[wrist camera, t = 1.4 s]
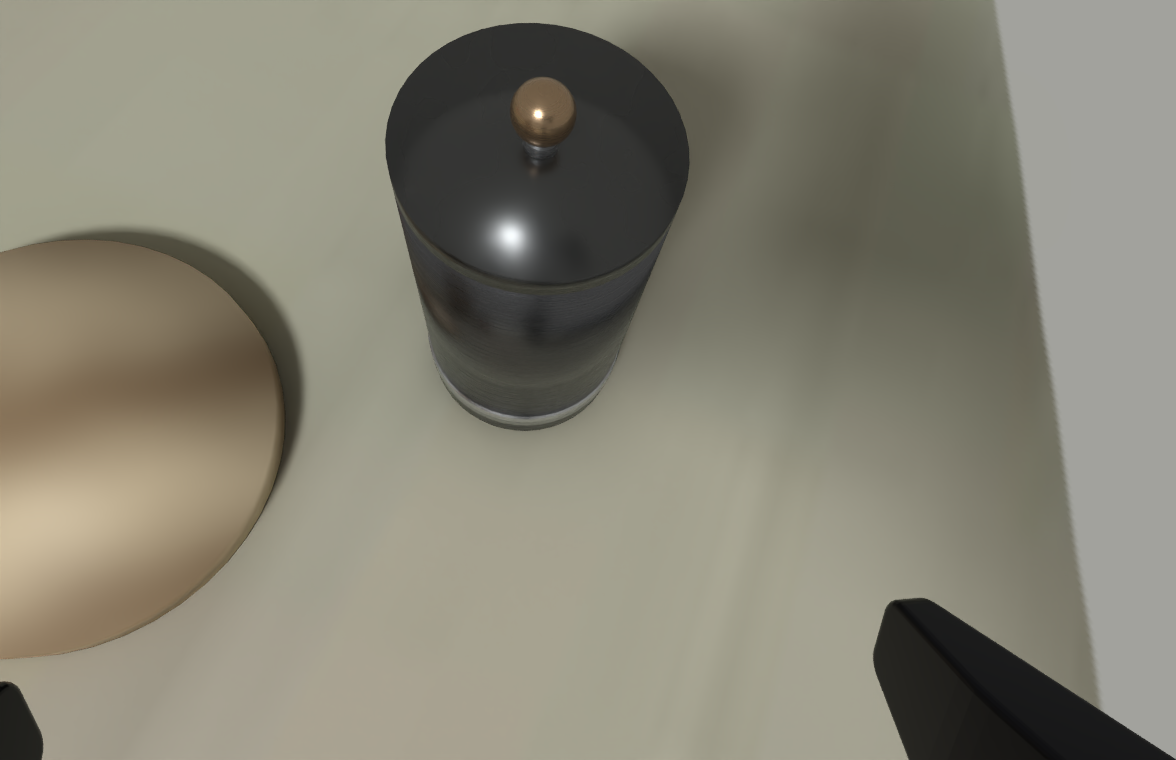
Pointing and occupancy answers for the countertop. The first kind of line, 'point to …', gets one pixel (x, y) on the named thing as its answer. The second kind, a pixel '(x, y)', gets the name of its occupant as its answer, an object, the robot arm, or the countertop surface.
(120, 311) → the smooth tan round disc
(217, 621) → the countertop surface
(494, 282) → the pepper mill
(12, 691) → the robot arm
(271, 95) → the countertop surface
